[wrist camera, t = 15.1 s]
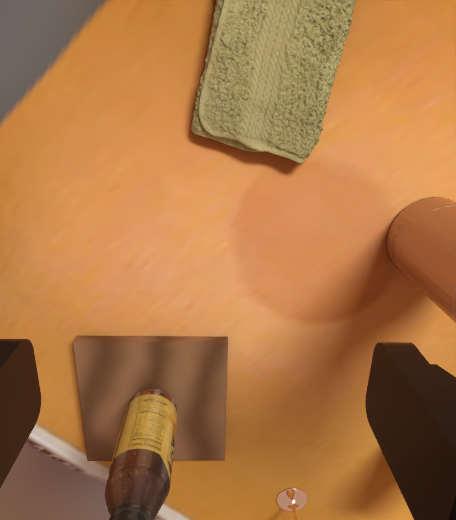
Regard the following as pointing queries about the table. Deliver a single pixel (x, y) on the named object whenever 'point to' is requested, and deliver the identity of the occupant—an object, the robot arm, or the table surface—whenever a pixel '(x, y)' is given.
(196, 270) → the table surface
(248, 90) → the washcloth
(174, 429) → the sauce bottle
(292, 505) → the wineglass
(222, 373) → the walnut board
